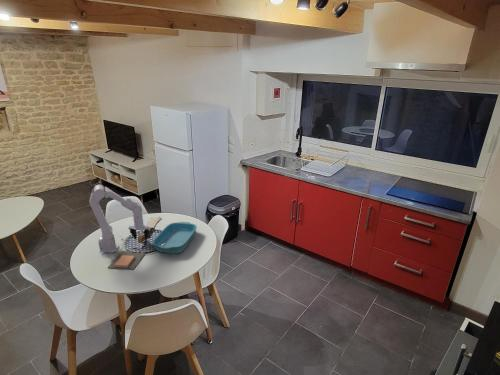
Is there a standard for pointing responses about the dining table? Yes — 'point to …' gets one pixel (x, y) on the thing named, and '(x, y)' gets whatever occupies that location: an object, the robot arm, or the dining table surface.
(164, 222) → the dining table surface
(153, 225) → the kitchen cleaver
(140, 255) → the mat
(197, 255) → the dining table surface
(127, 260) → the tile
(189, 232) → the casserole dish
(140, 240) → the tall cardboard box
